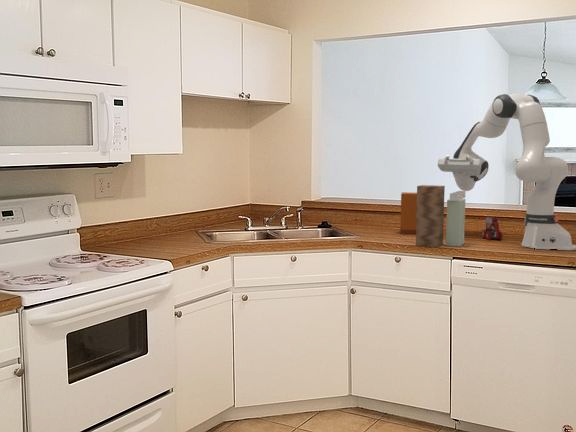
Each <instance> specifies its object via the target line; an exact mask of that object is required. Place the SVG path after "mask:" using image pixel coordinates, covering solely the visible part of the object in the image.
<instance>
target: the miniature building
mask: <svg viewBox="0 0 576 432" xmlns="http://www.w3.org/2000/svg"><path fill="white" fill-rule="evenodd" d="M416 212H417V192H401V194H400V230H399V234H401V235H415V236H416Z"/></svg>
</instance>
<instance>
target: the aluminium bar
mask: <svg viewBox="0 0 576 432" xmlns="http://www.w3.org/2000/svg"><path fill="white" fill-rule="evenodd" d="M466 192H467V191H463V190H458V191H457V190H456V191H454V192H451V193H449V199H450V201H458V200H460V199H466Z"/></svg>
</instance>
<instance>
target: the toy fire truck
mask: <svg viewBox="0 0 576 432" xmlns="http://www.w3.org/2000/svg"><path fill="white" fill-rule="evenodd" d="M498 221H499V219H498V218H497V217H493V216H489V215H488V216H486V218H485V222H486V224H485V225H486V226H485V229H483V230H481V233H480V234H481V235H480V236H481V238H482V239H486V240H487V241H490V240H492V239H496V240H497V241H501V240H502V239H503V232H502V231H500V224H499V222H498Z"/></svg>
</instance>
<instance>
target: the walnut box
mask: <svg viewBox="0 0 576 432" xmlns="http://www.w3.org/2000/svg"><path fill="white" fill-rule="evenodd" d="M445 186H446V185H436V184H435V185H433V184H432V185H431V184H430V185H429V184H428V185H427V184H422V185H417V186H416V193H417V212H416V235H415V246H418V247H433V248H437V247H438V248H439V247H441V246H442V245H444V223H445V222H444V219H445V217H444V216H445V190H446V189H445V188H446V187H445Z"/></svg>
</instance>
